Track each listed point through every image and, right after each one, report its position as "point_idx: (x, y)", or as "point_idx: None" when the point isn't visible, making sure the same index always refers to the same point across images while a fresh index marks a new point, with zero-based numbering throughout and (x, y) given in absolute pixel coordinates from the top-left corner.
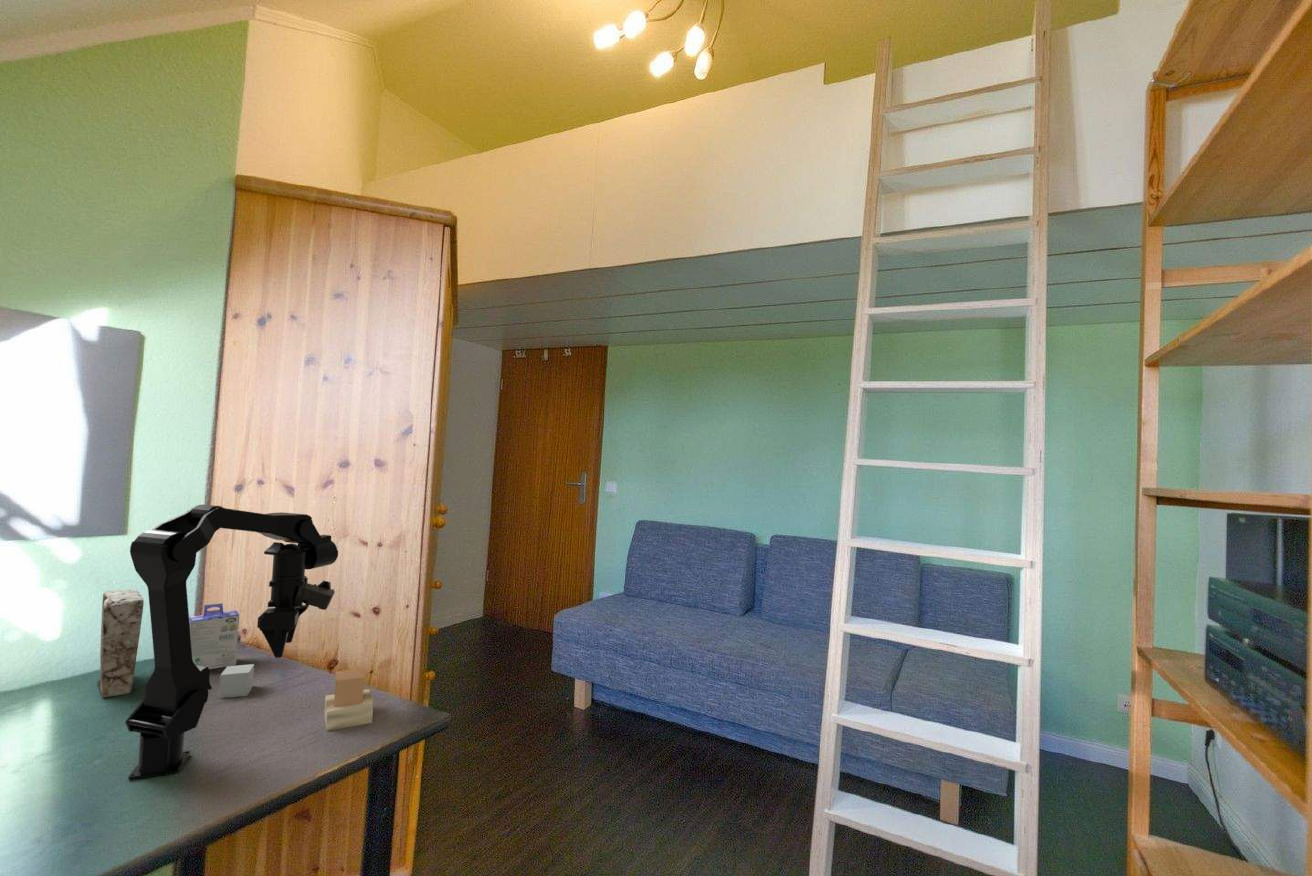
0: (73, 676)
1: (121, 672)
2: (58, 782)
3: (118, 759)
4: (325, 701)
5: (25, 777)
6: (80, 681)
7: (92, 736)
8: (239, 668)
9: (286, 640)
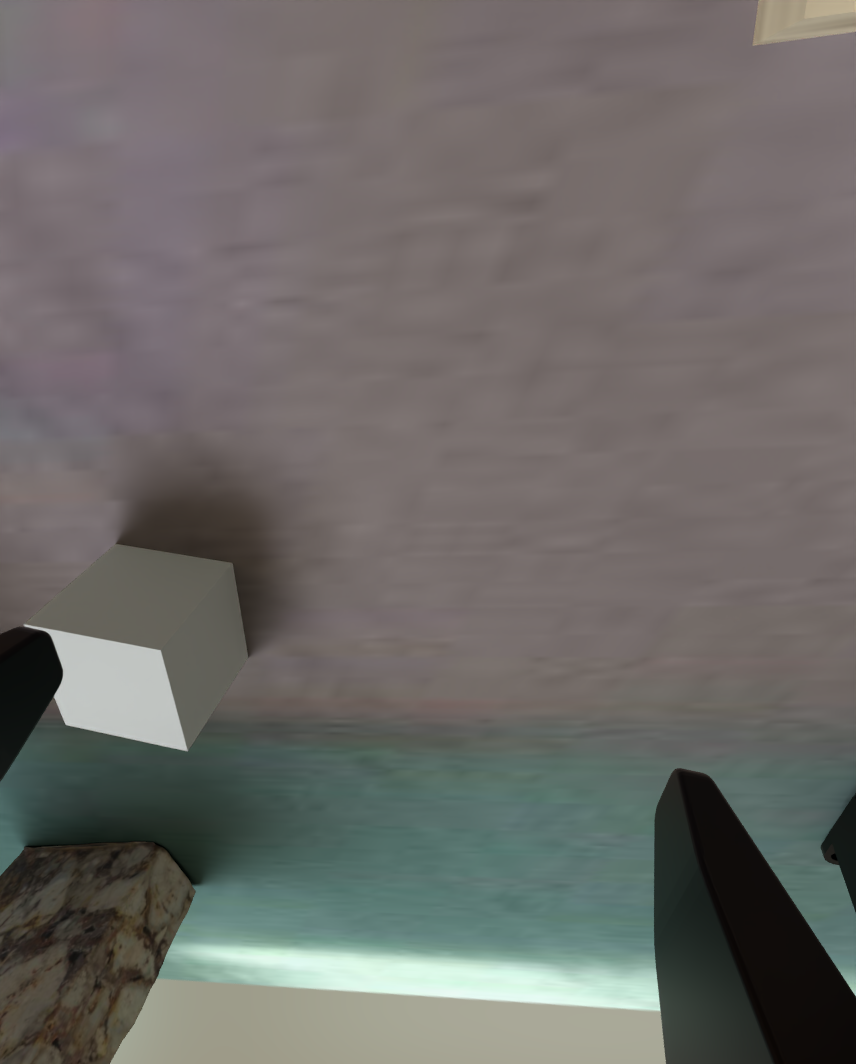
0: None
1: (130, 948)
2: None
3: None
4: (829, 21)
5: None
6: None
7: (488, 912)
8: (94, 684)
9: (38, 694)
